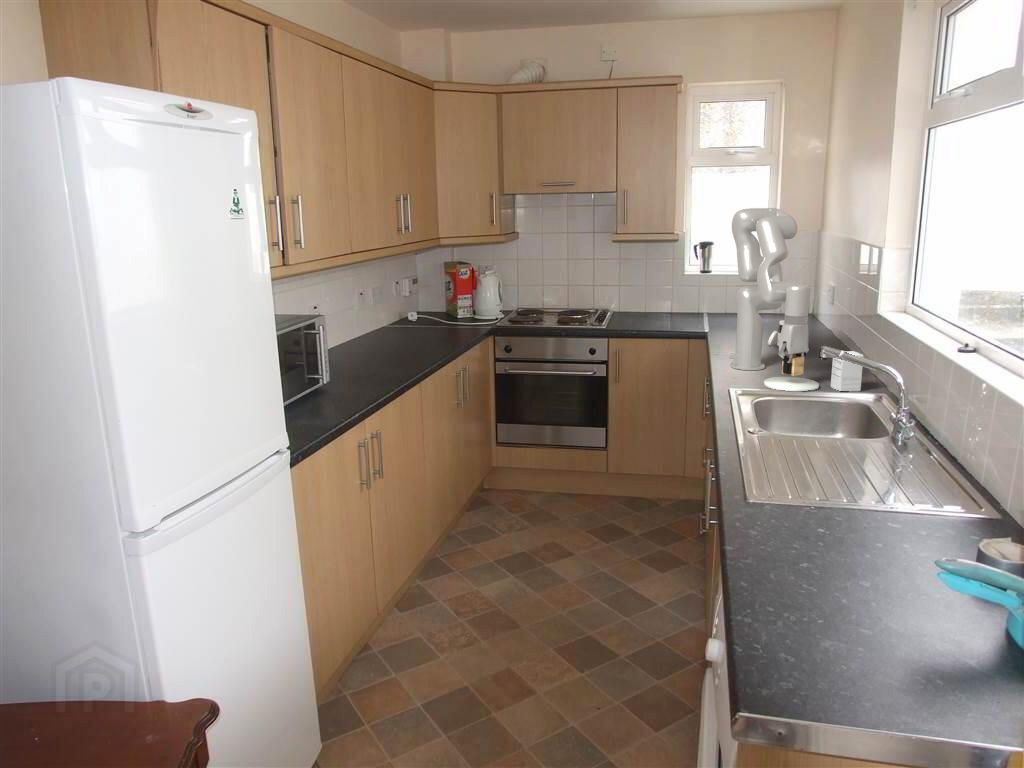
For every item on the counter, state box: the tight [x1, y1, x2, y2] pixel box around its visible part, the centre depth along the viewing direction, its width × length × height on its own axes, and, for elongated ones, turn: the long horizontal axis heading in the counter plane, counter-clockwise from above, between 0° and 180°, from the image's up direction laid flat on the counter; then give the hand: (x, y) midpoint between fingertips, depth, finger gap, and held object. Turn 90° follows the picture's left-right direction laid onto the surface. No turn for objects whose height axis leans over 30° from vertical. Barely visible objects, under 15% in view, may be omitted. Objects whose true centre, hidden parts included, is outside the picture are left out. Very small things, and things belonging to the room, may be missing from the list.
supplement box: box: [830, 350, 864, 392], centre depth 260 cm, size 7×7×13 cm
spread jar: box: [767, 319, 784, 349], centre depth 333 cm, size 12×11×12 cm
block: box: [781, 354, 805, 377], centre depth 265 cm, size 5×5×6 cm
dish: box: [763, 376, 820, 392], centre depth 267 cm, size 18×18×1 cm
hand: (792, 372), depth 265 cm, fingers closed on block, 5 cm apart
